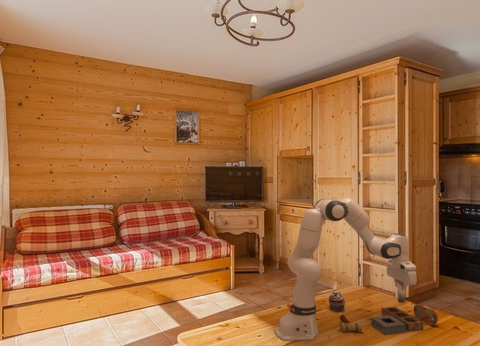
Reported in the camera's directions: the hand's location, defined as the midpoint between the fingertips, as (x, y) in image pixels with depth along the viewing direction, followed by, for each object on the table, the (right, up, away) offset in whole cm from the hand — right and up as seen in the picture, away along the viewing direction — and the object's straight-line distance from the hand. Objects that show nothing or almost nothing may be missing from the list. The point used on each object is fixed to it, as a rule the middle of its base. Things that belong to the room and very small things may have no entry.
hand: (401, 288), depth 189 cm
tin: (+13, -19, 0) cm, 23 cm away
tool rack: (0, -18, 0) cm, 18 cm away
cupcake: (-30, -19, +19) cm, 40 cm away
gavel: (-31, -19, -2) cm, 36 cm away
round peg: (0, -7, 0) cm, 7 cm away
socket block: (-11, -18, -8) cm, 23 cm away
